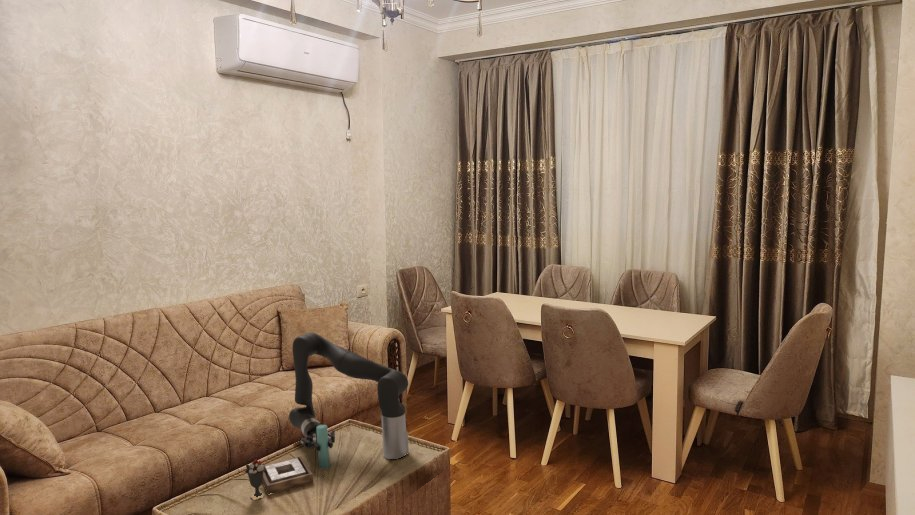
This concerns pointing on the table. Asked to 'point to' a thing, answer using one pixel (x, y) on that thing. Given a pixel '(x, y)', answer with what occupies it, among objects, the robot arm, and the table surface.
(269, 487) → the box
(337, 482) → the table surface
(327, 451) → the peg
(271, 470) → the plate
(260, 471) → the sundae
